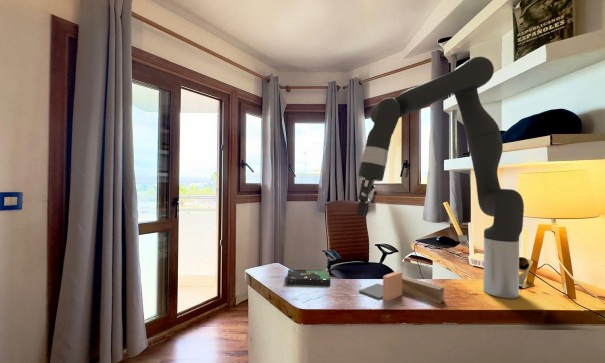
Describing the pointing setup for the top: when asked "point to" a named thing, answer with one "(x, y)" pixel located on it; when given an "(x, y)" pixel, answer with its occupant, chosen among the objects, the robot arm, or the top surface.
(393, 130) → the robot arm
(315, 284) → the disk drive
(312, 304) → the top surface
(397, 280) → the tile
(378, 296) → the mat
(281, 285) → the top surface
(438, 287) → the block
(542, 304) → the top surface
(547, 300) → the top surface
